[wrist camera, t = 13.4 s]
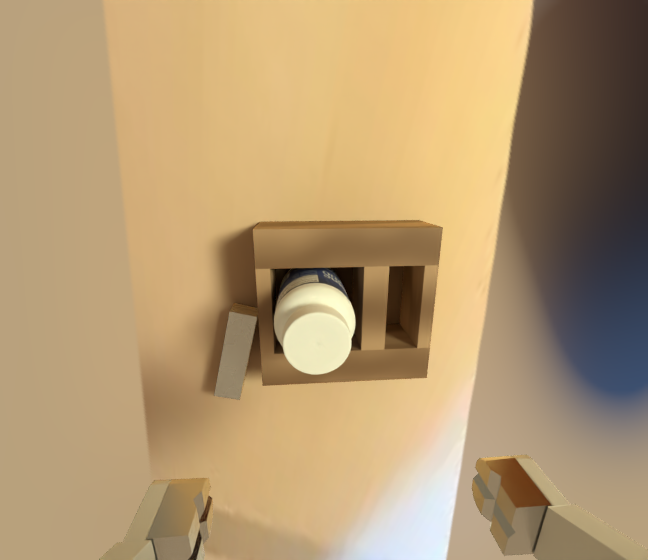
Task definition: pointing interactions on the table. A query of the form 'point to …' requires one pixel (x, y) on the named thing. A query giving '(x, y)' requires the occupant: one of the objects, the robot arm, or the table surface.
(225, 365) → the slim grey peg
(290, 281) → the pill bottle
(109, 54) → the table surface
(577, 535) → the robot arm
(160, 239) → the table surface
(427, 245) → the wooden compartment tray
